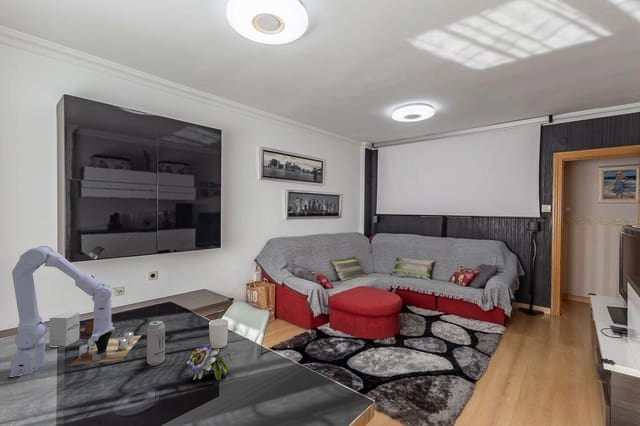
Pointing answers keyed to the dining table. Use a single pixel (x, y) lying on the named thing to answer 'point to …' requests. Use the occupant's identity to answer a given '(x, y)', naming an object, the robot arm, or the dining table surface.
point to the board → (109, 352)
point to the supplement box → (64, 329)
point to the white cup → (218, 332)
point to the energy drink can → (155, 343)
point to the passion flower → (206, 361)
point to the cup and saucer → (87, 329)
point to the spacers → (86, 349)
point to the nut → (98, 355)
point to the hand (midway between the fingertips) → (102, 352)
